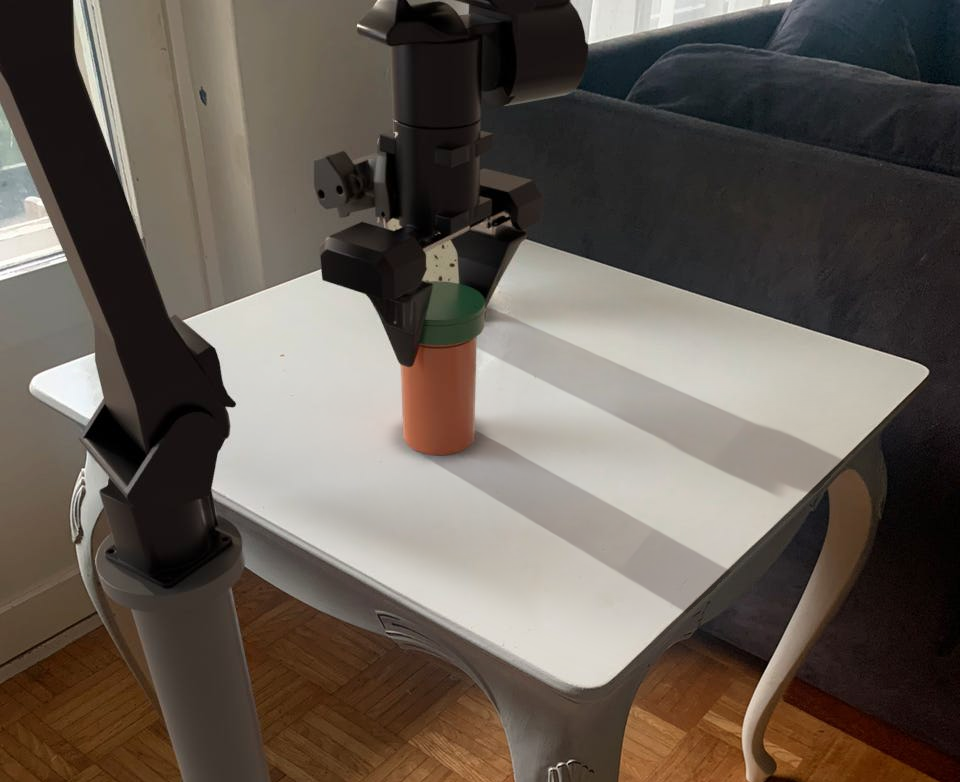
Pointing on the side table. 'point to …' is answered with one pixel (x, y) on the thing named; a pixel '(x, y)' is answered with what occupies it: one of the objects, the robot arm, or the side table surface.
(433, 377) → the jar
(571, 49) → the robot arm
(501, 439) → the side table surface
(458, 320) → the green cylinder
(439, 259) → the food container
